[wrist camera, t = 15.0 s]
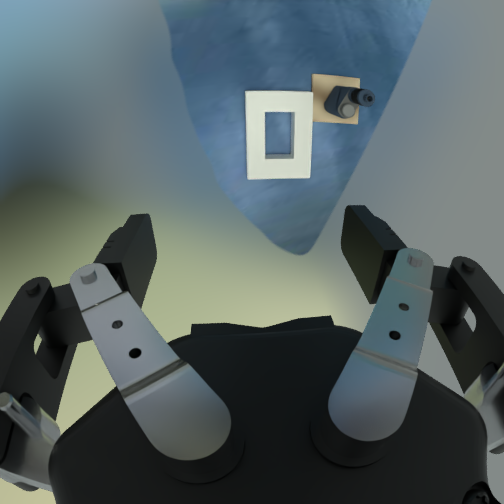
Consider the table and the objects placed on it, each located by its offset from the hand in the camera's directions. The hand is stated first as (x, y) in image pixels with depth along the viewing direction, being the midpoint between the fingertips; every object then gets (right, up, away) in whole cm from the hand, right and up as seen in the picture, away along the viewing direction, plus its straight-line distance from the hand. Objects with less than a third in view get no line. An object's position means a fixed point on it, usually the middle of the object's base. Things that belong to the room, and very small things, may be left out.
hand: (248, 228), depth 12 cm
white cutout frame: (+4, +18, +34) cm, 39 cm away
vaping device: (+13, +23, +31) cm, 41 cm away
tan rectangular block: (+14, +24, +31) cm, 41 cm away
